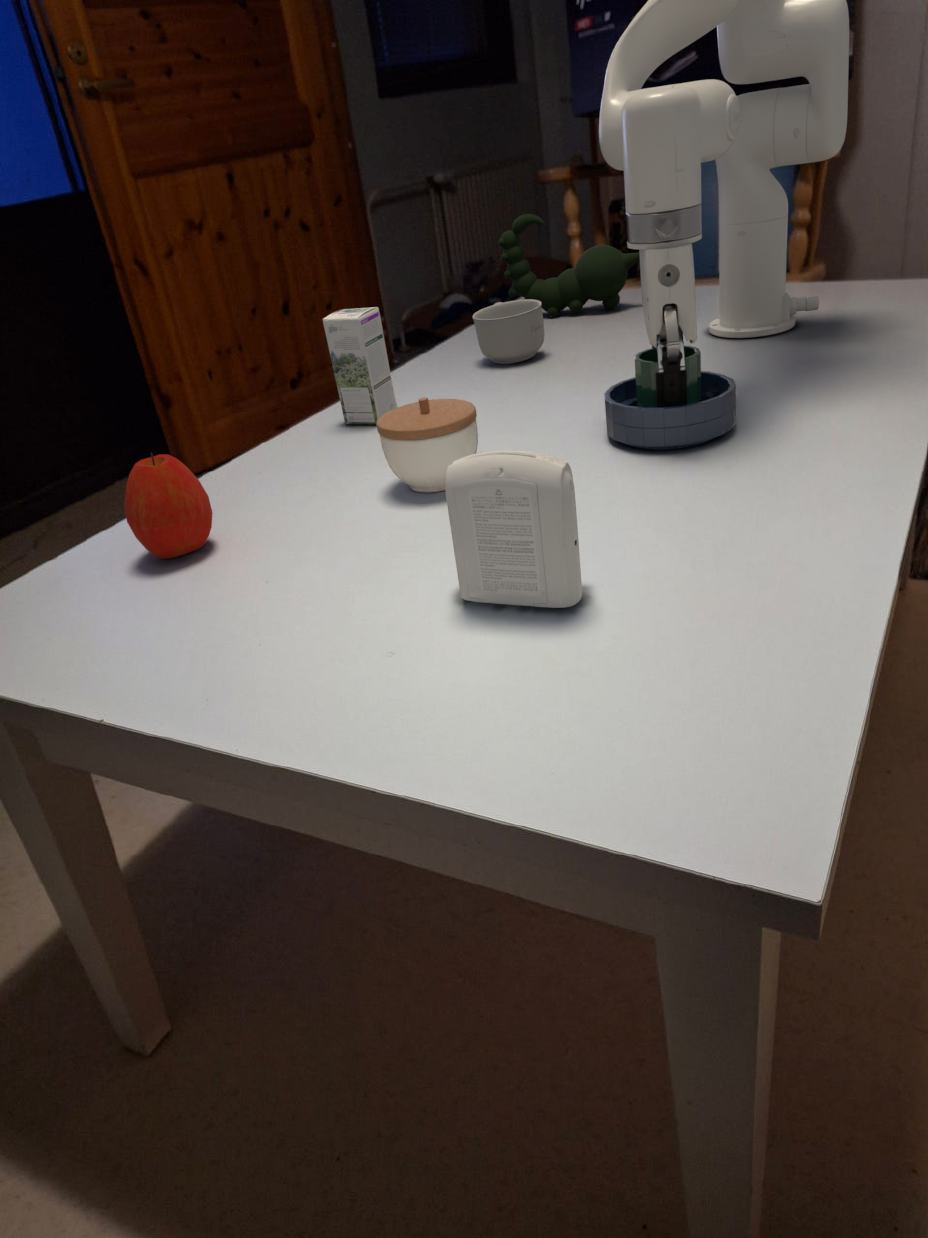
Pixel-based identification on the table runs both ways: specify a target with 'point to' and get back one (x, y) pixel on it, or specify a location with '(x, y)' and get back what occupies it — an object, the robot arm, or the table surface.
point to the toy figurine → (566, 274)
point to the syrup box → (360, 364)
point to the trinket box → (427, 440)
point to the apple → (167, 507)
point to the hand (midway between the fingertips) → (668, 396)
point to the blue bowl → (671, 415)
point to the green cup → (649, 367)
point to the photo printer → (514, 529)
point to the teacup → (510, 330)
